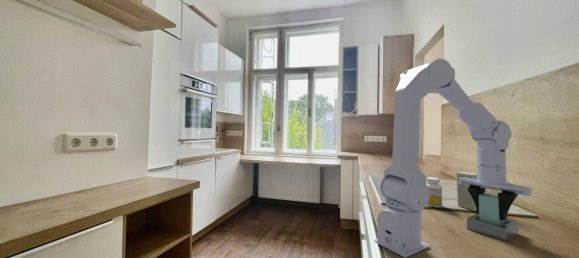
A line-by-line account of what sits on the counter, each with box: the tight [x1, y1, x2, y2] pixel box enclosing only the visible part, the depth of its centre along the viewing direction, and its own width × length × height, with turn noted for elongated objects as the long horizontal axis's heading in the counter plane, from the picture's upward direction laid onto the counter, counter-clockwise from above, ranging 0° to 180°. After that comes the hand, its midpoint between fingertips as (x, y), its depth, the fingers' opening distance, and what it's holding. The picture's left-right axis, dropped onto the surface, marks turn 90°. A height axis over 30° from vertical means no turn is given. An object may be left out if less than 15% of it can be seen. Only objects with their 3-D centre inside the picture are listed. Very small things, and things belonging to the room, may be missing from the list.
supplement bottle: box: [426, 176, 443, 208], centre depth 81 cm, size 5×5×10 cm
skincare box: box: [455, 171, 477, 212], centre depth 78 cm, size 6×4×12 cm
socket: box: [466, 213, 519, 242], centre depth 59 cm, size 8×8×3 cm
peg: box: [479, 192, 505, 226], centre depth 59 cm, size 4×4×8 cm
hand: (491, 216), depth 59 cm, fingers closed on peg, 4 cm apart
